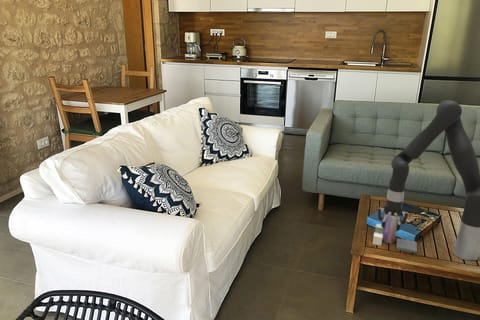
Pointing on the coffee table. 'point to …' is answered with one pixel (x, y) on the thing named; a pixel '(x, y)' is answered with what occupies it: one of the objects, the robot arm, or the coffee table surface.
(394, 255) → the coffee table surface
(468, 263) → the coffee table surface
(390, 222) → the beverage can
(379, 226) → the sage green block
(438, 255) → the coffee table surface
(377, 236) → the cream block
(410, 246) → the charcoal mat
